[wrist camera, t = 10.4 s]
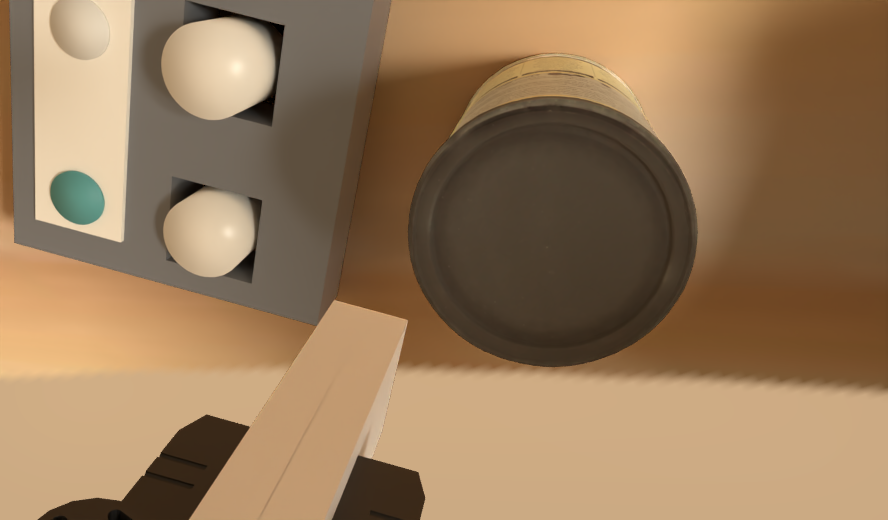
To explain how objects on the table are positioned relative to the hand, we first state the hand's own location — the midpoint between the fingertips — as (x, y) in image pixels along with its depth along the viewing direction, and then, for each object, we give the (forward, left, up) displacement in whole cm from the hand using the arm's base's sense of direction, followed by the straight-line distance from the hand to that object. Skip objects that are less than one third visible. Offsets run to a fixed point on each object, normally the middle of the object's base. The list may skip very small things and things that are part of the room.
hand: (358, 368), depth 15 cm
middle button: (+12, 0, -25) cm, 28 cm away
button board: (+15, 0, -26) cm, 30 cm away
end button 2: (+13, +9, -26) cm, 30 cm away
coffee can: (-4, +1, -27) cm, 27 cm away
